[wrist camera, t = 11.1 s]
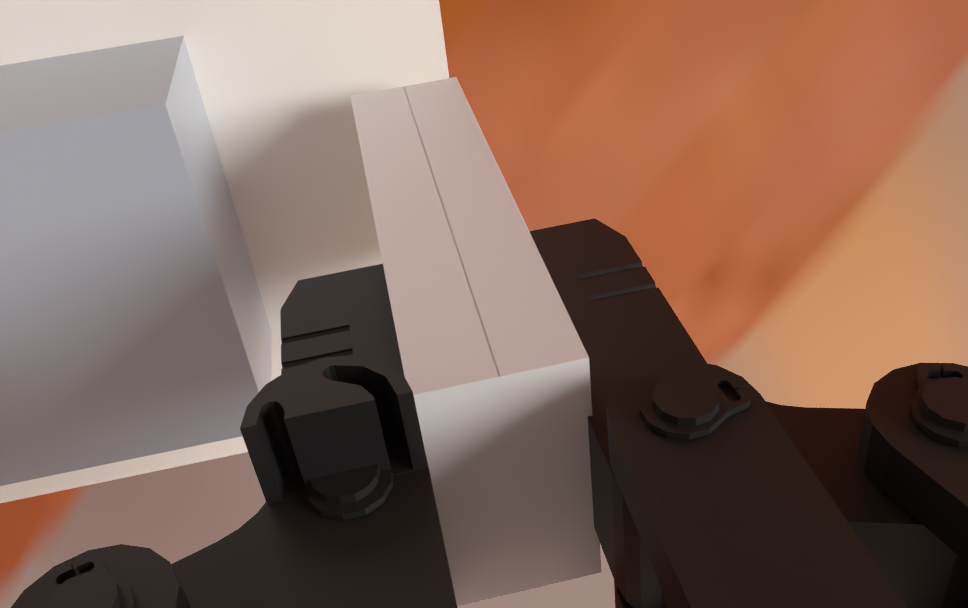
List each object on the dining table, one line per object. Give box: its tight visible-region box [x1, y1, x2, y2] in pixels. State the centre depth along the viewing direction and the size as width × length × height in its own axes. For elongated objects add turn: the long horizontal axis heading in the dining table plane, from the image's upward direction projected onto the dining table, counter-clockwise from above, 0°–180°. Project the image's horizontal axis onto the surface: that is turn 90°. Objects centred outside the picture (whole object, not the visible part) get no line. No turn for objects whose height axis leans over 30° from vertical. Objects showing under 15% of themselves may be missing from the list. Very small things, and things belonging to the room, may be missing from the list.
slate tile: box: [0, 36, 272, 486], centre depth 12 cm, size 5×5×2 cm
